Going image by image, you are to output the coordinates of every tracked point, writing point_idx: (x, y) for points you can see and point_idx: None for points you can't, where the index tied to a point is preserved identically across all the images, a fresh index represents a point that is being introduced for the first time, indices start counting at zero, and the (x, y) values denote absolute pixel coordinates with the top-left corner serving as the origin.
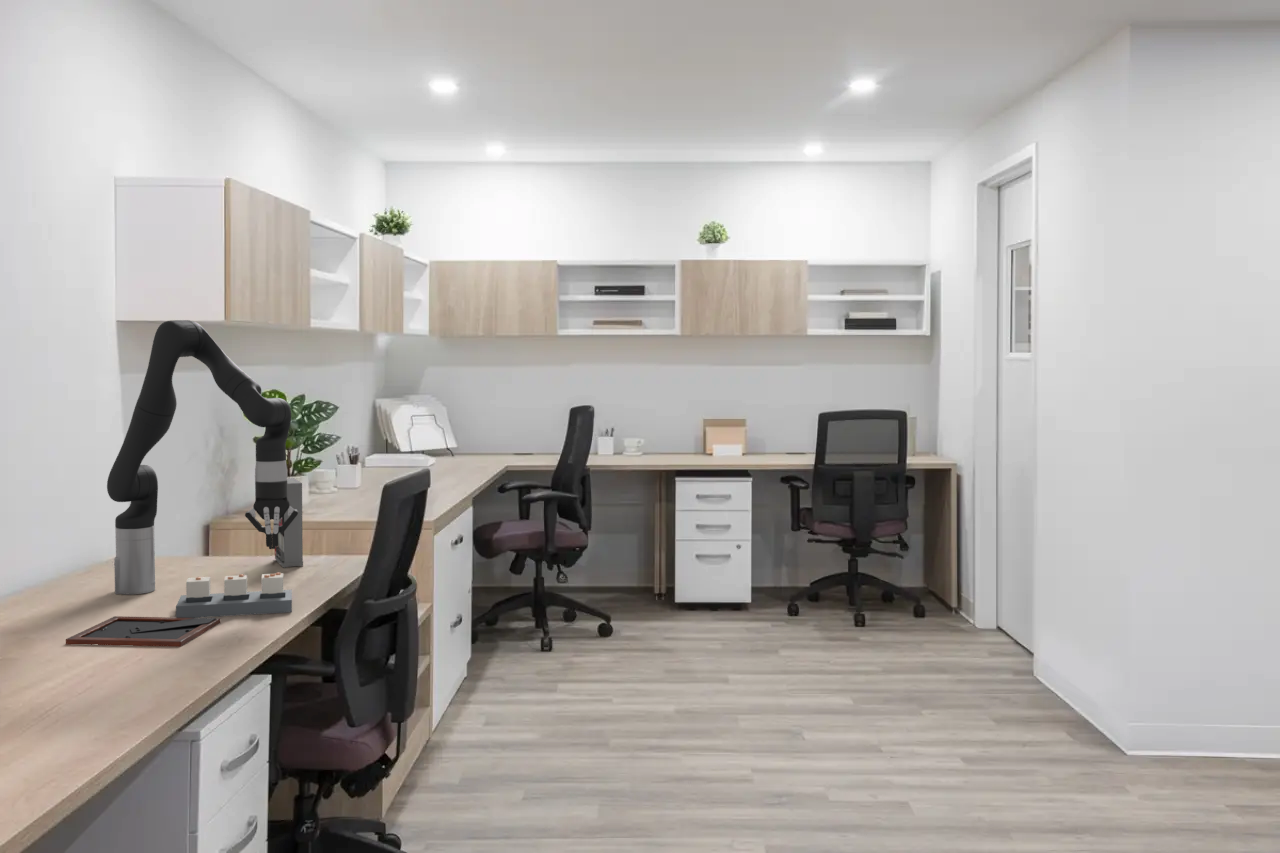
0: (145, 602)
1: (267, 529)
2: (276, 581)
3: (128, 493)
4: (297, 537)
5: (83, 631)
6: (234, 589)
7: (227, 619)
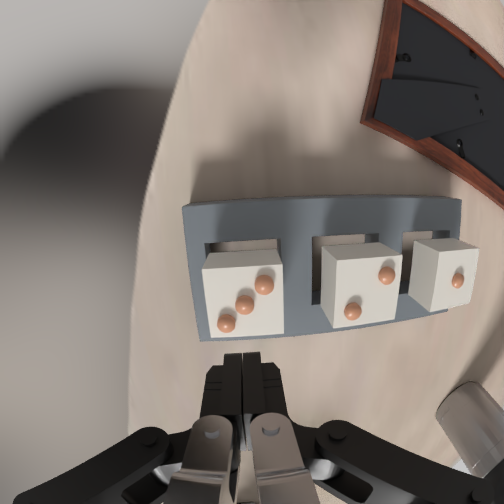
0: (466, 341)
1: (279, 441)
2: (227, 262)
3: None
4: None
5: None
6: (361, 247)
7: (349, 157)
